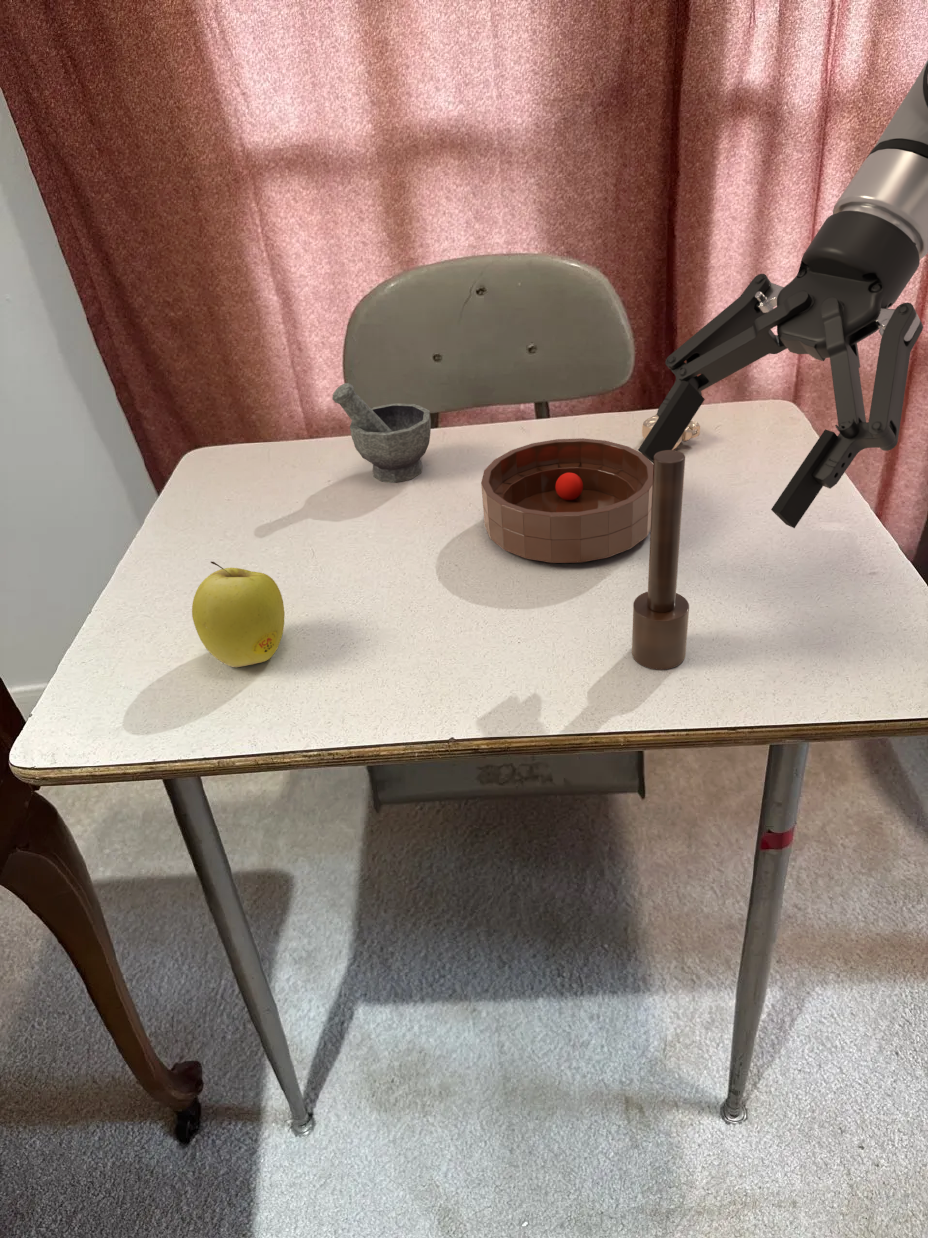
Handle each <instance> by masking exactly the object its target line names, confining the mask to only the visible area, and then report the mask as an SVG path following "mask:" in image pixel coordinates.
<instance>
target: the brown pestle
mask: <svg viewBox="0 0 928 1238" xmlns="http://www.w3.org/2000/svg"><path fill="white" fill-rule="evenodd" d="M652 464H653V485H652V508H651V530H650V531H649V553H648V555H649V557H648V576H647V579H648V580H647V591H645V592H643V593H640V594H639V595H637V597H635V599H634V601H633V604H632V629H631V630H632V631H631V632H632V635H631V656H632V658H633V660H634V661H635V662H636V663H637V664H639V665H640V666H642V667H644V668H646V669H650V670H656V671H657V670H658V671H663V670H670V669H673V668H676V667H678V666H680V665H682V663H683V662H684V660H685V658H686V654H687V640H688V630H689V629H688V627H689V618H690V617H689V615H690V603H689V601H688V600H687V599H686V597H684V596H683V595H682V594H680V593H677V585H678V572H679V571H678V570H679V557H680V556H679V555H680V542H681V541H680V540H681V526H682V511H683V498H684V497H683V496H684V484H685V482H684V481H685V468H686V455H685V454H684V453H683V452H682V451H679V450H676V449H674V450H664V451H660V452H658V453H656V454H655V455H654V463H652Z"/></svg>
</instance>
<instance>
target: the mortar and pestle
mask: <svg viewBox="0 0 928 1238" xmlns="http://www.w3.org/2000/svg"><path fill="white" fill-rule="evenodd" d="M331 398H332V401H333V402H334V403H335V404H338V405H339V406H340V407H341V409H343V411H344V412H345V414H346V415H347V416H348V417H349V419H350V420H351V421H350V425H349V430H350V436H351V440H352V442H353V446H354V448H355V450H356V451H357V452H358V454H359V455H360V456H361V457H362V459H364V460H365V461H367V462H368V463H370V464H372V475H373V478H376V479H377V480H378V481H380V482H382V483H383V482H384V483H400V482H405V481H410V480H412V479H414V478H416V477H417V476H419V475H420V474H422V471H423V464H422V457H424V456H425V454H426V452H427V451H428V447H429V444H430V440H431V429H432V428H431V427H432V418H431V411H430V409H427V408H425V407H424V406H421V405H419V404H416V403H395V402H394V403H388V404H384V405H378V406H374V407H370V405H368V404H367V403H366V401H365V400H363V398H362V397H360V395H359V394H358V393H357V392H356V391H355V387H354V385H353V384H352V383H350V382H344V383H342V384H341V385H340V386H338V387H337V388H336V389H335V390H334V392H333V394H332V397H331Z"/></svg>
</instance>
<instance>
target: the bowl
mask: <svg viewBox="0 0 928 1238" xmlns="http://www.w3.org/2000/svg"><path fill="white" fill-rule="evenodd" d="M564 473H575V474H577V475H578V476H579V477H580V478H581V480H582V482H583V490H582V493H581V494H580V495H579V496H578V497H577V498H576V499H574V500H564V499H562V498H561V497H560V496H559V495H558V494H557V492H556V488H555V485H556V481H557V479H558V478H559V477H560V476H561V475H562V474H564ZM652 485H653V463H652V462H651V461H650V460H649V459H648V458H646V457H645V456H644V455H643V454H642V453H641V452H639V451H638V450H636V449H634V448H633V447H630V446H628V445H625V444H620V443H616V442H613V441H610V440H605V439H603V440H602V439H595V438H583V437H580V438H558V439H557V438H556V439H550V440H544V441H537V442H532V443H529V444H525V445H523V446H519V447H517V448H513V449H511V450H509V451H507V452H505V453H504V454H502V455H500V456H498V457H496V458H495V459H493V460H492V461H491V462H490V463H489V464H488V466H487V467H486V468H485V469H484V470H483V473H482V477H481V482H480V486H481V487H480V488H481V496H482V499H481V500H482V506H483V507H482V508H483V509H482V510H483V520H484V521H483V522H484V528H485V530H486V532H487V534H488V536H489V539H490V540H491V541H492V542H493V543H495V544H496V545H497V546H498V547H500V548H501V549H502V550H504V551H506V552H508V553H511V554H514V555H515V556H518V557H521V558H523V559H526V560H531V561H538V562H546V563H550V564H575V563H576V564H577V563H586V562H590V561H591V562H592V561H598V560H602V559H608V558H611V557H613V556H615V555H618V554H621V553H623V552H627V551H628V550H630V549H632V548H633V547H635V546H636V545H638V544H640V543H641V542H642V541H643V540H644V539H646V538H647V537H648V536H649V534H650V530H651V508H652Z"/></svg>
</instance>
